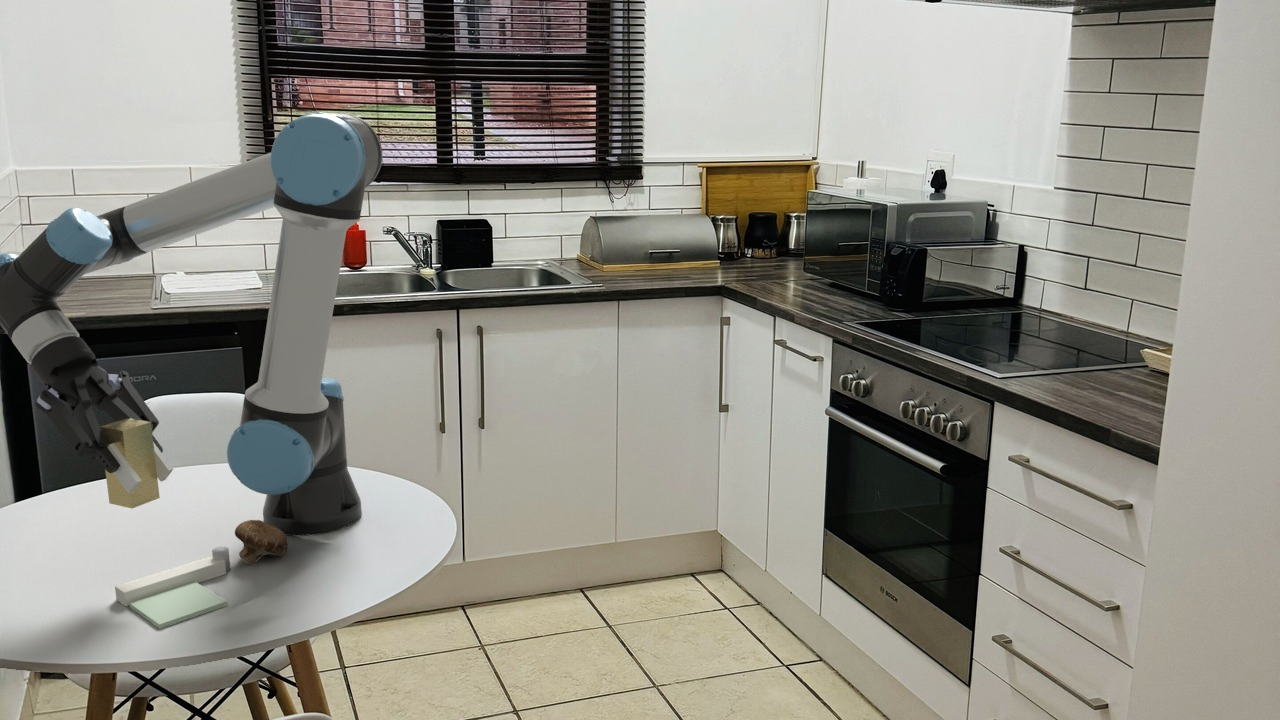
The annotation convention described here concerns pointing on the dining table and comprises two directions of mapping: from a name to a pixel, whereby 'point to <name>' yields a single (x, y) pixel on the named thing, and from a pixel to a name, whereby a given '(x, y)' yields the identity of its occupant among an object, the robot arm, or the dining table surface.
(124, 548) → the dining table surface
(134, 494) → the block
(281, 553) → the mushroom
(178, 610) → the plate
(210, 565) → the door edge
